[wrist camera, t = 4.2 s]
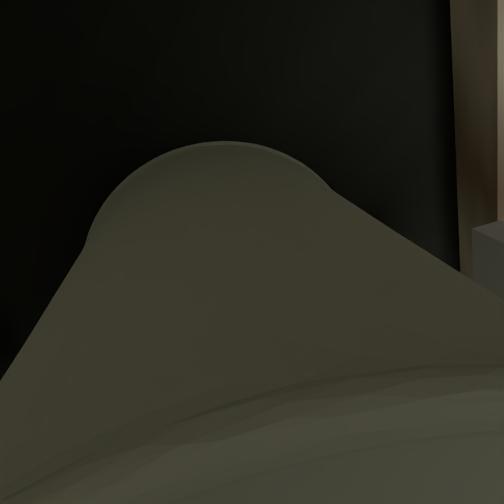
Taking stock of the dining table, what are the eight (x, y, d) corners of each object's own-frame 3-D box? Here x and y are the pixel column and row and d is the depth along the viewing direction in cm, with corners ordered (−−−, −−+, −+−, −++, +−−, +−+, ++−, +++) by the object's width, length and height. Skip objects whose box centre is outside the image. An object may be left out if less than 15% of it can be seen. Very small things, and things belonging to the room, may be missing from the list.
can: (166, 77, 12) (-30, -105, 1) (404, 227, 15) (1080, 640, 4) (36, 332, 14) (-517, 1260, 3) (266, 420, 17) (431, 1051, 6)
